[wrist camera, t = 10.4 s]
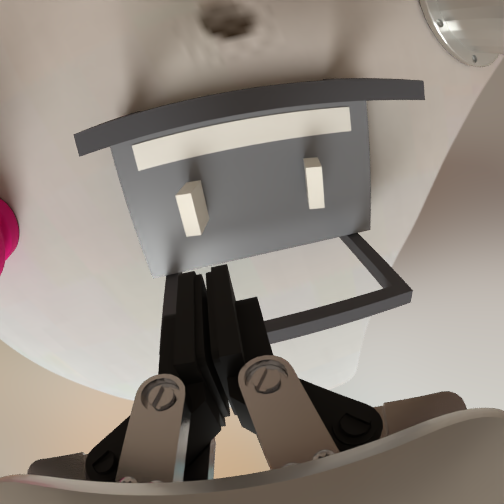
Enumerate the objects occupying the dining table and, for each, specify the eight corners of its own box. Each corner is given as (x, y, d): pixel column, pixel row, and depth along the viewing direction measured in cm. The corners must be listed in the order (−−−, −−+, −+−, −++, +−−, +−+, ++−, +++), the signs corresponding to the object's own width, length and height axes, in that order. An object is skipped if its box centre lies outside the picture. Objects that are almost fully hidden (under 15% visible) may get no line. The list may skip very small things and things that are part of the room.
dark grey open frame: (334, 78, 21) (423, 80, 12) (345, 230, 28) (410, 302, 19) (127, 114, 20) (73, 134, 11) (171, 269, 27) (165, 365, 17)
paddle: (200, 180, 20) (190, 193, 18) (209, 218, 21) (201, 235, 19) (186, 182, 20) (175, 195, 18) (195, 220, 22) (186, 236, 20)
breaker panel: (347, 93, 22) (366, 95, 19) (354, 215, 27) (370, 230, 25) (118, 134, 21) (108, 140, 18) (156, 259, 26) (152, 279, 24)
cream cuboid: (317, 157, 21) (321, 166, 18) (320, 194, 22) (324, 208, 20) (303, 158, 21) (305, 168, 19) (307, 195, 22) (309, 209, 20)
